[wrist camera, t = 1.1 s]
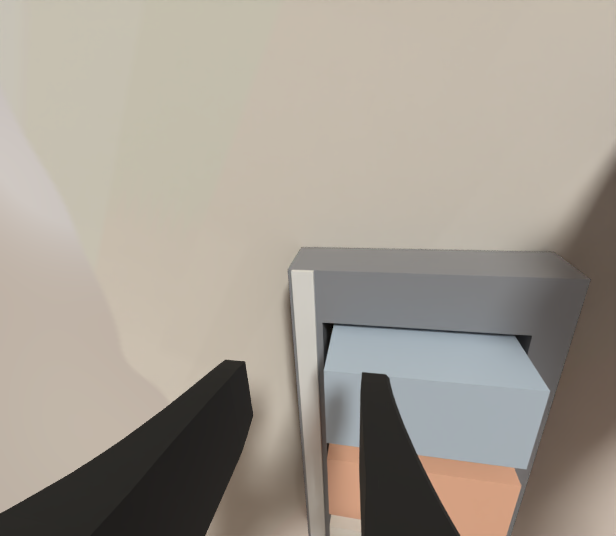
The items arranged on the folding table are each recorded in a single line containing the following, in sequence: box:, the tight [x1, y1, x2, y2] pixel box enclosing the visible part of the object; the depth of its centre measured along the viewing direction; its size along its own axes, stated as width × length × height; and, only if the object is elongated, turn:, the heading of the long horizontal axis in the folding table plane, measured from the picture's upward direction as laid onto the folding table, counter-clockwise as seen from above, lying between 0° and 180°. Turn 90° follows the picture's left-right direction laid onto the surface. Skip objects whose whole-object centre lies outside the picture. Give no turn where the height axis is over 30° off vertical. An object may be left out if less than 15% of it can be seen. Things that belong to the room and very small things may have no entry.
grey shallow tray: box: [288, 247, 591, 536], centre depth 19 cm, size 12×20×3 cm, turn 2°
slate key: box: [324, 323, 550, 469], centre depth 15 cm, size 8×4×4 cm, turn 92°
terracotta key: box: [327, 443, 521, 536], centre depth 17 cm, size 8×4×4 cm, turn 92°
